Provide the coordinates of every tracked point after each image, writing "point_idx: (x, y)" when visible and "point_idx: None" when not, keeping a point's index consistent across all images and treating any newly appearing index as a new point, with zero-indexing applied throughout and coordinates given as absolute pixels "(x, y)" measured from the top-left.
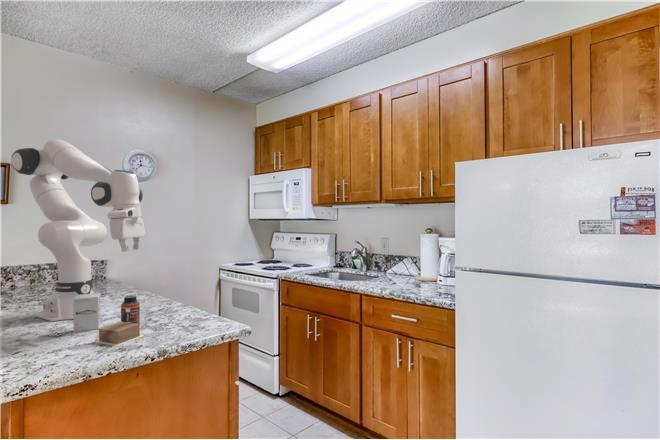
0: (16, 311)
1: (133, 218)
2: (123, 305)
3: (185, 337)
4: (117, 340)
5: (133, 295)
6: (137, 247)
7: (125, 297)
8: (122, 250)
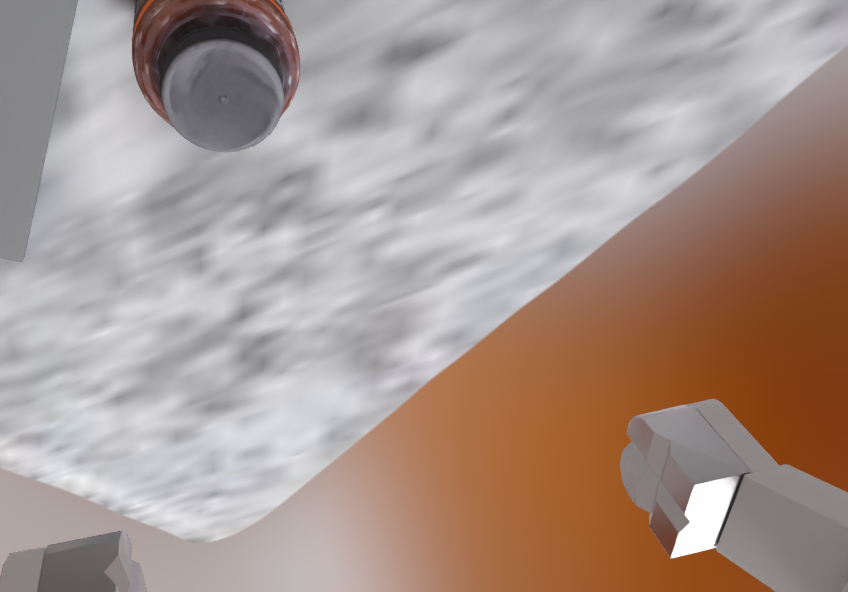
0: None
1: None
2: (138, 37)
3: (41, 400)
4: None
5: (278, 104)
6: (644, 503)
7: (170, 72)
8: (9, 584)
